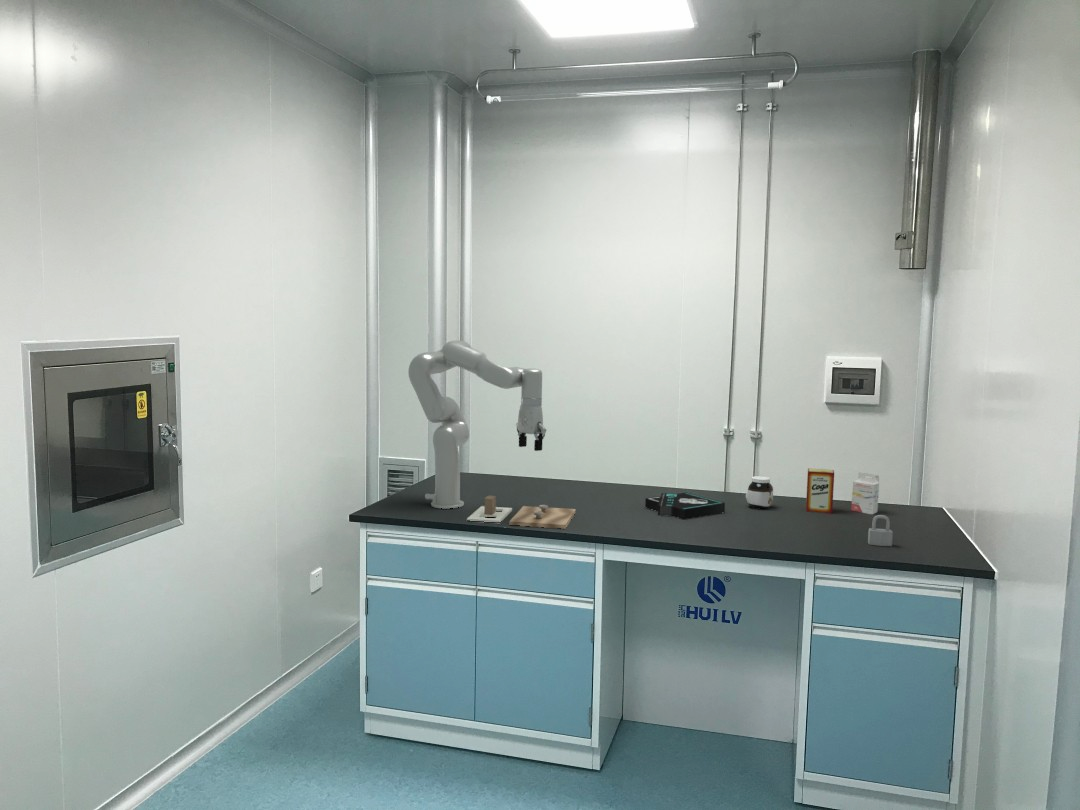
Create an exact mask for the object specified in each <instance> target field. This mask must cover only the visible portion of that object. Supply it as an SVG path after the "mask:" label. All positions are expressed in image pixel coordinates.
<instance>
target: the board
mask: <svg viewBox="0 0 1080 810" xmlns="http://www.w3.org/2000/svg"><path fill="white" fill-rule="evenodd" d="M576 510H577V509H575V508H564V507H560V508H559V507H549V506H548V505H547V504H540V505H538V506H530V505H529V506H527V505H523V506H522V507H521V508H520V509H519V510H518V511H517V513H516V514H515V515H513V517H512V518H511V519H510V520H509V521H508V523H509V525H520V526H519V527H525V526H530V527H529V528H541V527H544V528H545V529H557V528H561V530H566V529H567V528H566V527H568V526H569V524H570V523H571V521H572V520H573V519H574V517H575V515H576V512H577V511H576ZM574 514H575V515H574ZM571 519H572V520H571ZM509 525H508V526H509ZM544 528H543V529H544Z"/></svg>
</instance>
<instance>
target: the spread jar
mask: <svg viewBox="0 0 1080 810" xmlns="http://www.w3.org/2000/svg"><path fill="white" fill-rule="evenodd" d="M747 487H748V488H747V492H746V493H745V499H746V501H747V504H748V506H749V507H750V506H751V507H750V508H752V507H754V508H753V509H755V508H760V509H759V510H765V509H764V508H768V509H769V508H770V507H772V504H773V502H774V501H773V500H774V487H773V485H772V484H771V478H770V477H768V476H759V475H758V476H757V475H755V476H752V477H751V483H749V485H748V486H747Z"/></svg>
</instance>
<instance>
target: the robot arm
mask: <svg viewBox="0 0 1080 810" xmlns="http://www.w3.org/2000/svg"><path fill="white" fill-rule="evenodd" d="M456 367H458V368H460V369H463V370H465V371H468V372H470V373H472V374H475V376H476V377H478V378H480V379H481V380H483V381H484V382H486V383H489V384H492V386H496V387H498V388H501V389H504V390H505V389H507V390H508V389H515V388H519V387H521V396H520V398H521V401H520V406H519V410H518V416H517V417H518V419H517V422H516V423H515V426H516V432H517V436H518V447H519V448H523V447H527V441H528V436H527V435H533V437H534V444H533V445H534V446H533V447H534V451H535V452H537V451H538V452H539V451H540V452H541V451H542V450H543V441H544V438H545V436H546V434H547V433H546V432H547V428H546V427H545V426H544V416H543V407H542V405H543V404H542V403H543V401H542V399H543V371H542V370H541V369H539V368H523V367H519V366H512V367H504V366H501V365H499V364H497V363H495V362H493V361H491V360H489V359H488V358H487V354H486V353H485V352H482V351H480V350H478V349H476V348H473V347H472V346H471V345H470V343H468V342H467V341H465V340H451V341H448V342H446V343H444V345H443V346H442V348H441V349H439V350H437V351H427V352H421V353H418V354H417V355H416V356H414V357H413V359H412V360H411V361H410V364H409V366H408V378H409V381H410V384H411V386H412V387H413V390H414V392H415V394H416V396H417V399H418V401H419V403H420V405H421V408H422V410H423V413H424V415H425V416H426V419H427V420H428V421H429V422H430V423H431V424H432V423H433V424H438V423H441V424H442V425H440V426H438V427H437V428H436V429H435V430H434V432H433V434H432V435H433V436H432V444H433V450H434V467H435V468H434V477H435V478H434V488H435V489H434V493H425V495H424V498H425V500H427V501H428V500H431V502H430V505H431V507H432V508H435V509H441V508H442V509H444V510H446V509H447V510H448V509H449V510H451V509H450V508H453V509H459V508H462V507H463V506H464V504H465V502H464V501H463V500H461V460H460V459H461V456H460V452H459V448H458V447H460V446H463V445H465V443H466V442H468V440H469V437H470V430H469V427H468V424H467V422H466V420H465V418H464V416H463V413H462V411H461V409H460V407H459V405H458V403H457V402H456V401H455V400H454V399H453V398H451V397H450V396H443V395H442V394H441V392H440V390H439V388H438V385H437V383H436V382H435V381H434V380H433V379H432V376H431V375H436V374H441V373H444V372H446V371H449V370H451V369H454V368H456ZM458 507H459V508H458Z"/></svg>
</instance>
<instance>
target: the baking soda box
mask: <svg viewBox="0 0 1080 810" xmlns="http://www.w3.org/2000/svg"><path fill="white" fill-rule="evenodd" d="M806 477H807V479H806V480H807V481H806V499H805V502H806V503H805V512H809V511H815V512H814V513H821V512H824V513H825V514H833V508H834V507H833V506H834V505H833V503H834V486H835V485H834V483H835V470H834V469H827V468H809V467H808V468H807V476H806Z"/></svg>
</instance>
